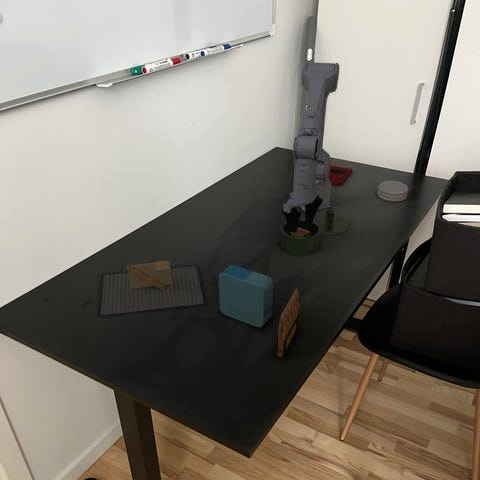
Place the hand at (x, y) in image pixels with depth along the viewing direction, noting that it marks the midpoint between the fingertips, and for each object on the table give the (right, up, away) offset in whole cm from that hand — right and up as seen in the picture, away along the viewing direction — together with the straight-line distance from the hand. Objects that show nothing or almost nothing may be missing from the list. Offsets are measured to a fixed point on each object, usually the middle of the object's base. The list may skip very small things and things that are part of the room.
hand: (300, 226), depth 142 cm
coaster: (+34, +16, +29) cm, 47 cm away
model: (-40, -19, -13) cm, 46 cm away
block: (0, -4, +3) cm, 6 cm away
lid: (+10, +3, +12) cm, 16 cm away
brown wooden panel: (-7, -32, -29) cm, 44 cm away
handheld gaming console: (+17, +26, +41) cm, 52 cm away
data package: (-16, -26, -22) cm, 37 cm away
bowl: (0, -5, +4) cm, 6 cm away
